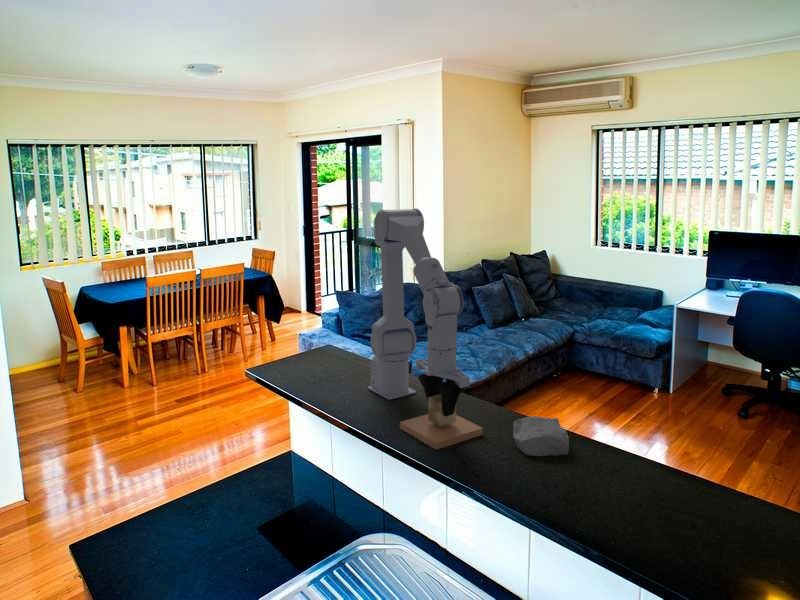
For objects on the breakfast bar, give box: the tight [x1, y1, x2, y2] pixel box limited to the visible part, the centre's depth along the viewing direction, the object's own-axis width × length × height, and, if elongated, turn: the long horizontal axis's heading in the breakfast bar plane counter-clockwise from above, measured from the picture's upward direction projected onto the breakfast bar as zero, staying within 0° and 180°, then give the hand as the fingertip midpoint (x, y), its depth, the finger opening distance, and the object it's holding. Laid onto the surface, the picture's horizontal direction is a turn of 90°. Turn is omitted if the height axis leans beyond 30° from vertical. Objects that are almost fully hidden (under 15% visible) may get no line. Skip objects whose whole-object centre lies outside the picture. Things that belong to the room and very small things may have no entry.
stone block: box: [512, 416, 570, 457], centre depth 118 cm, size 12×5×10 cm
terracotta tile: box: [399, 413, 484, 450], centre depth 123 cm, size 12×12×2 cm
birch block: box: [427, 393, 457, 427], centre depth 122 cm, size 4×4×5 cm
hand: (441, 411), depth 122 cm, fingers closed on birch block, 4 cm apart
